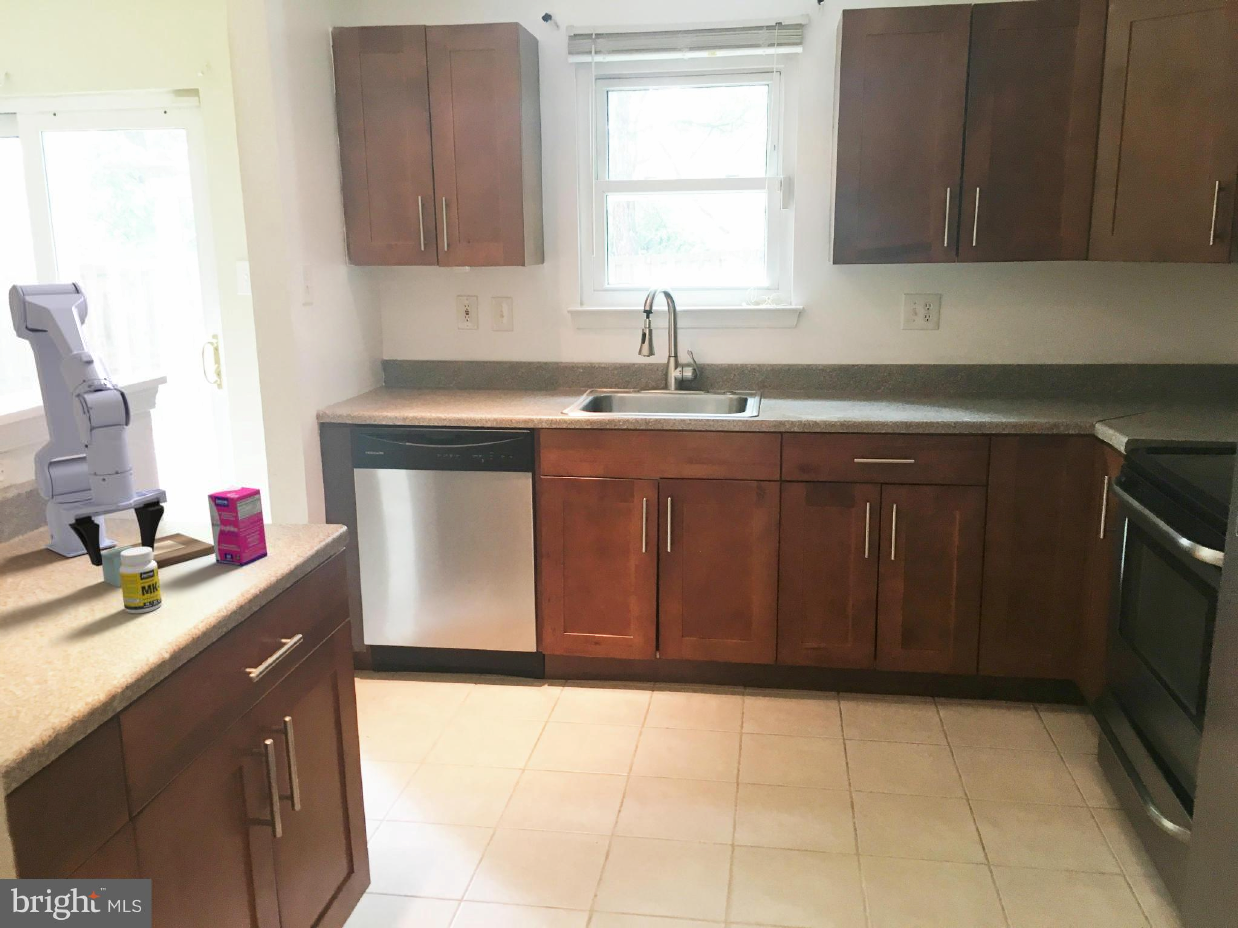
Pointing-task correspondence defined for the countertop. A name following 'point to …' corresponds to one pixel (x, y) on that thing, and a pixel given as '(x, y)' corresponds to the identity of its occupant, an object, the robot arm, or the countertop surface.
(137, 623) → the countertop surface
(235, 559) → the supplement box
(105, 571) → the teal cube
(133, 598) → the supplement bottle
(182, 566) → the countertop surface
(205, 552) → the plate
